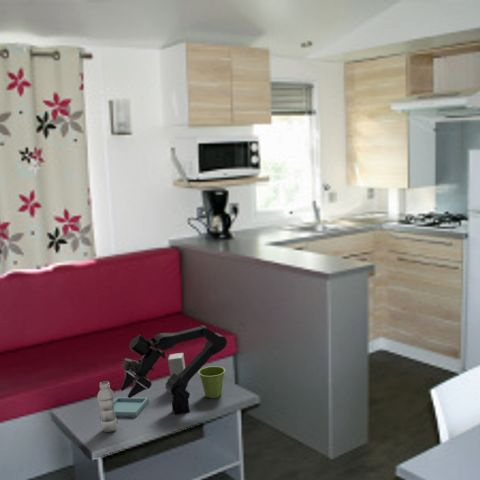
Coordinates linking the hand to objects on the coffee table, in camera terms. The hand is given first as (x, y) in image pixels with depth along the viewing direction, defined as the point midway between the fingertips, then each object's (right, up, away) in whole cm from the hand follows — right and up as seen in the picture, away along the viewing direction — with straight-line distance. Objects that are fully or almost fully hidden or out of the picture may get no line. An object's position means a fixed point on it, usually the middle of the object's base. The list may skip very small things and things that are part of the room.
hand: (124, 393), depth 267 cm
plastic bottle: (-6, -15, -1) cm, 16 cm away
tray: (-2, -11, +18) cm, 21 cm away
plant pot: (+35, -7, +26) cm, 44 cm away
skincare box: (+19, -6, +36) cm, 41 cm away
